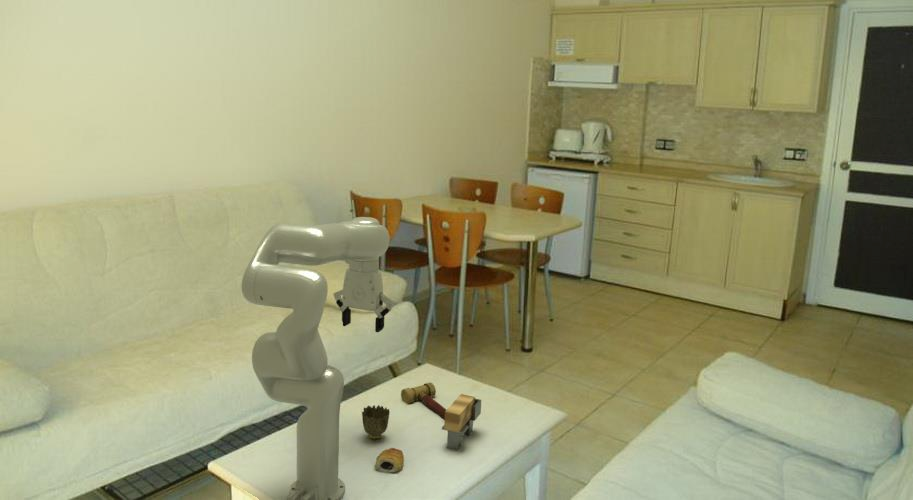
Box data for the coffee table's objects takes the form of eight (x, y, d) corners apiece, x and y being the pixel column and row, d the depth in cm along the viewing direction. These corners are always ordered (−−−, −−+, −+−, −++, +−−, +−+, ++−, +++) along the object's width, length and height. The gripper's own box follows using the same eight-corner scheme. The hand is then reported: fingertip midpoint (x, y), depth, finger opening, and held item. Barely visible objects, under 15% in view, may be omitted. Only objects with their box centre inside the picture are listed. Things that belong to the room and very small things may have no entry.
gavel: (468, 410, 206) (440, 418, 200) (467, 424, 207) (439, 432, 201) (428, 379, 222) (401, 386, 216) (427, 393, 223) (400, 400, 217)
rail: (458, 432, 186) (459, 414, 185) (444, 429, 187) (445, 411, 186) (473, 413, 197) (474, 396, 196) (460, 410, 198) (461, 394, 197)
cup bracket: (473, 439, 195) (475, 407, 193) (451, 434, 197) (453, 402, 195) (479, 431, 200) (481, 399, 197) (458, 426, 202) (459, 395, 200)
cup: (384, 446, 189) (384, 418, 187) (357, 442, 190) (358, 415, 188) (392, 433, 196) (393, 406, 194) (366, 429, 197) (367, 403, 195)
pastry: (383, 453, 186) (383, 440, 185) (408, 456, 185) (408, 443, 184) (373, 472, 177) (373, 458, 176) (399, 475, 176) (400, 461, 175)
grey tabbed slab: (461, 452, 187) (463, 432, 186) (440, 447, 189) (441, 427, 188) (467, 446, 191) (468, 425, 190) (446, 441, 193) (447, 420, 192)
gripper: (327, 263, 184) (326, 326, 188) (387, 273, 178) (385, 337, 182) (342, 257, 191) (341, 318, 195) (400, 266, 185) (398, 329, 189)
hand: (362, 327), depth 188 cm, fingers open, 9 cm apart
